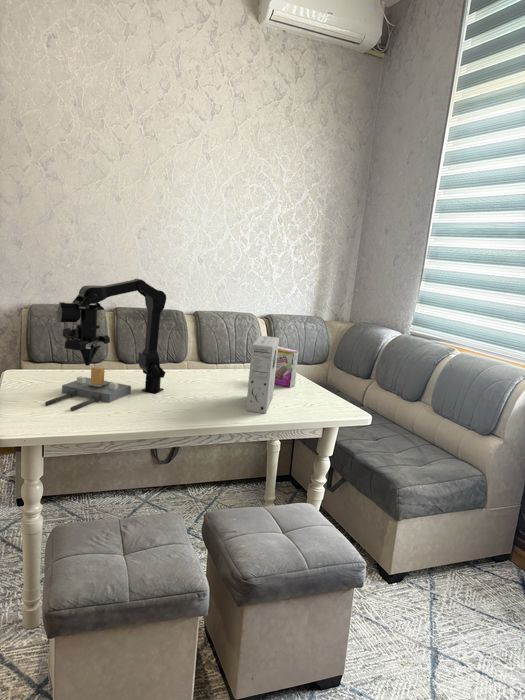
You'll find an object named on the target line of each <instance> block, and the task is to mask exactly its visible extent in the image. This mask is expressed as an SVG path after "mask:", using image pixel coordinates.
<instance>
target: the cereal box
mask: <svg viewBox="0 0 525 700" xmlns="http://www.w3.org/2000/svg"><path fill="white" fill-rule="evenodd" d="M279 341H280V337H275V336H266V335H260V336H259V337H257V339H256V340H255V341H254V342H253V343H252V345H251V350H250V351H251V352H250V363H249V374H248V383H247V396H246V405H245V406H246V407H245V411H246V412H253V413H258V414H259V413H260V414H266V413H267V412H268V410H269V407H270V405H271V403H272V401H273V397H274V388H275V384H274V382H275V372H276V363H277V353H278V347H279Z"/></svg>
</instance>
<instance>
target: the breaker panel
mask: <svg viewBox="0 0 525 700" xmlns="http://www.w3.org/2000/svg"><path fill="white" fill-rule="evenodd" d="M88 383H91V377H87V376H81V375H79V376H76V380H74V381H71V382H68V383H65V384H62V385H61V394H63V395H66V394H68V393H71V394H72V396H71V397H70V398H75V397H79V398H80V397H81V398H85V399H88V400H90V399H92V398H95V399H96V401H95V402H94V403H100V402H106V403H109V404H110V403H112V402H114V401H117V400H118V399H121V398H123V397H126V396H128V395H130V394H131V392H132V391H131V390H132V385H129V384H123V383H120V382H119V383H118V382H113V381H108V380H107V381H106V380H104V383H107V384H106V385H103V386H101V387H96V386H91V385H87V384H88Z"/></svg>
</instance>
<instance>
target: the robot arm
mask: <svg viewBox="0 0 525 700" xmlns="http://www.w3.org/2000/svg"><path fill="white" fill-rule="evenodd" d="M133 292H138V293H139V295H141V296H143V297H144V302H145V307H146V310H147V319H146V328H145V329H146V331H145V341H144V349H143V350H142V352H138V360H137V363H138V366H139V368H140V369H141V370H142V373H143V374H145V384H144V388H141V392H146V393H151V394H157V393H160V392H163V391H164V388H162V387H161V380H162V378H164V377H165V375H166V371H165V370H164V369H163V368H162V366H161V361H160V355H159V352H158V345H159V334H160V333H159V332H160V323H161V315H162V314H161V313H162V312H163V310H164V309H165V306H166V303H167V294H166V293H165V292H164V291H162V290H159V289H156V288H155V287H153V286H152V285H150V284H148V283H147V282H146V281H145V280H143V279H140V278H134V279H131V280H126V281H122V282H121V281H120V282H116V283H111V284H106V285H94V284H93V285H91V284H90V285H83V286H81V287H80V289H79V292H78V295H76V297H75V298H74V299H73V301H72V302H63V301H60V302H58V307H57V308H56V319H57V322H58V323H77V322H78V321H79V324H78V323H77V324H76V328H75V329H71V328H70V327H66V328H63V329H62V337H63V338H64V339H66V340H65V341H64V349H67V350H74V351H79V352H80V354H81V356H82V360H83V362H84V365H85V366H90V365H91V363H92V361H93V359H94V357H95V355H96V354H97V352H98V350H100V348H101V345H98V343H99V342H102V343H103V344H104V345H106V344H110V343H111V338H110V336H109V335H108V334H103V333H102V334H101V333H98V329H100V325H99V324H98V314H99V313H98V312H99V311H104V309H105V308H104V307H103V306H102V305H101V303H100V302H103V301H104V300H106V299H107V298H110V297H115V296H119V295H123V294H124V295H125V294H128V293H133Z"/></svg>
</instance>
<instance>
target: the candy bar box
mask: <svg viewBox="0 0 525 700" xmlns="http://www.w3.org/2000/svg"><path fill="white" fill-rule="evenodd" d="M299 353H300V352H299V351H298V350H296V349H292V348H291V349H290V348H287V347H282V346H278V353H277V363H276V372H275V382H274V385H278V386H281V387H285V388H293V387H295V386H296V377H297V369H298V361H299Z"/></svg>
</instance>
